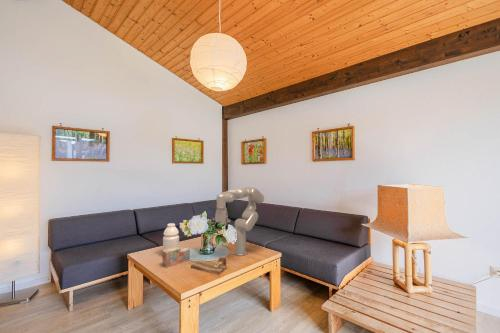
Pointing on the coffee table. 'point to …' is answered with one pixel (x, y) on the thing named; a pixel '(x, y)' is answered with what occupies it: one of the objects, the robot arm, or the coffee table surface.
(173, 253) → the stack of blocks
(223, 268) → the board
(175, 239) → the bottle
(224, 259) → the gauge
